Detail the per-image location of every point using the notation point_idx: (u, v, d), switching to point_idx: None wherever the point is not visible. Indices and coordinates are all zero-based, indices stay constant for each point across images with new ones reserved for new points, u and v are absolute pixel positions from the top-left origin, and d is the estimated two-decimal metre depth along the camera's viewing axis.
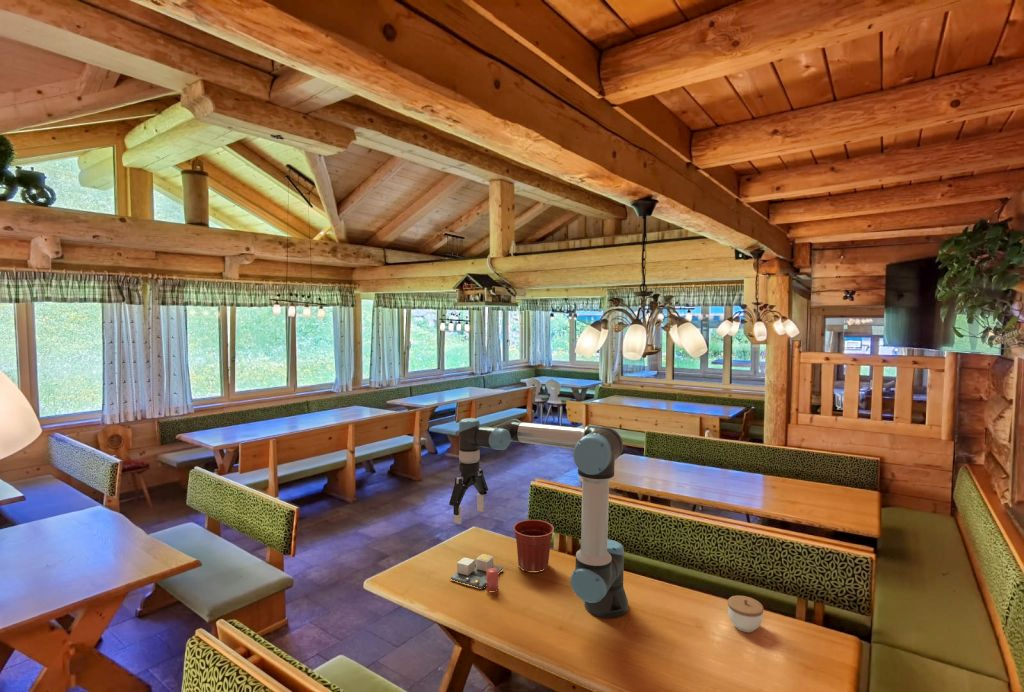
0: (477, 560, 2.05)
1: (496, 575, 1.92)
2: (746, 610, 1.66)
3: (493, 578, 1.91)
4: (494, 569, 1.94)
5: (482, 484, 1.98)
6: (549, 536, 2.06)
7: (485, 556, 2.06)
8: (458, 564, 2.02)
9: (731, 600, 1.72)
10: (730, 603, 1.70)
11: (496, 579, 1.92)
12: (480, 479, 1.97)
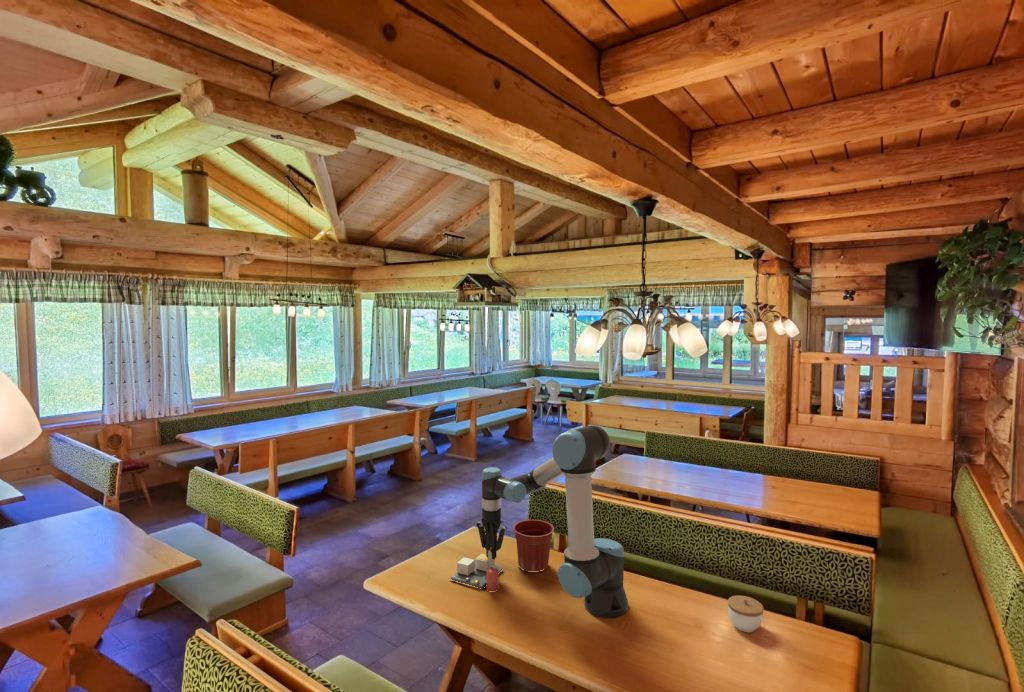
0: (476, 560, 2.05)
1: (496, 575, 1.92)
2: (746, 610, 1.66)
3: (493, 578, 1.91)
4: (494, 569, 1.94)
5: None
6: (549, 536, 2.06)
7: (484, 556, 2.07)
8: (458, 564, 2.02)
9: (731, 600, 1.72)
10: (730, 603, 1.70)
11: (496, 579, 1.92)
12: None
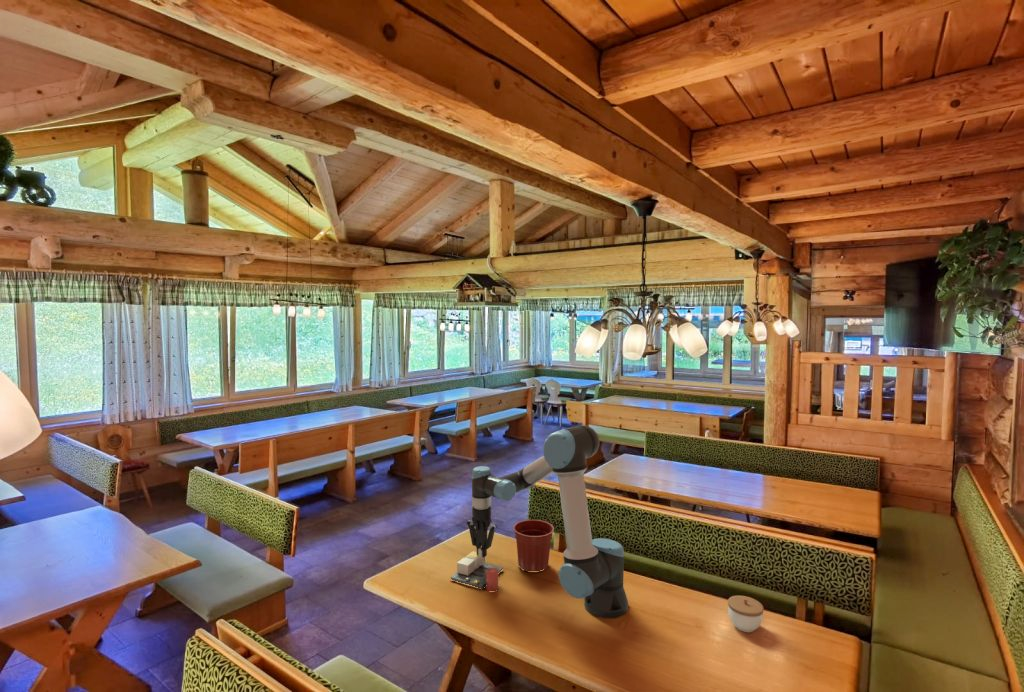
0: (467, 557, 2.07)
1: (496, 575, 1.92)
2: (746, 610, 1.66)
3: (493, 578, 1.91)
4: (494, 569, 1.94)
5: None
6: (549, 536, 2.06)
7: (475, 553, 2.09)
8: (458, 564, 2.02)
9: (731, 600, 1.72)
10: (730, 603, 1.70)
11: (496, 579, 1.92)
12: None
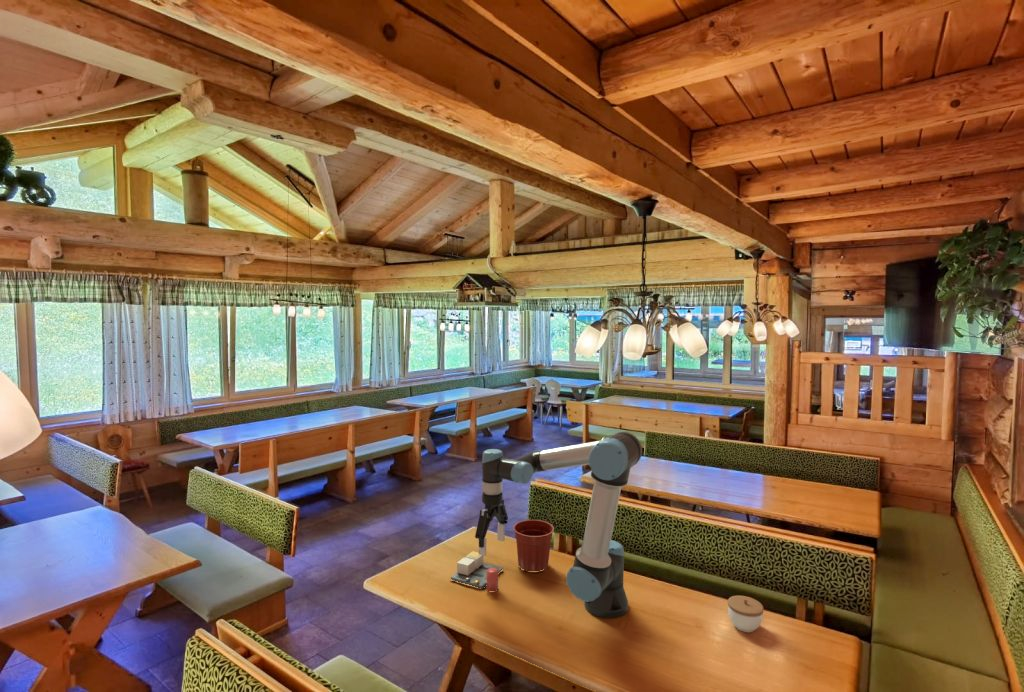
0: (467, 557, 2.07)
1: (496, 575, 1.92)
2: (746, 610, 1.66)
3: (493, 578, 1.91)
4: (494, 569, 1.94)
5: (502, 513, 1.98)
6: (549, 536, 2.06)
7: (475, 553, 2.09)
8: (458, 564, 2.02)
9: (731, 600, 1.72)
10: (730, 603, 1.70)
11: (496, 579, 1.92)
12: (501, 509, 1.98)
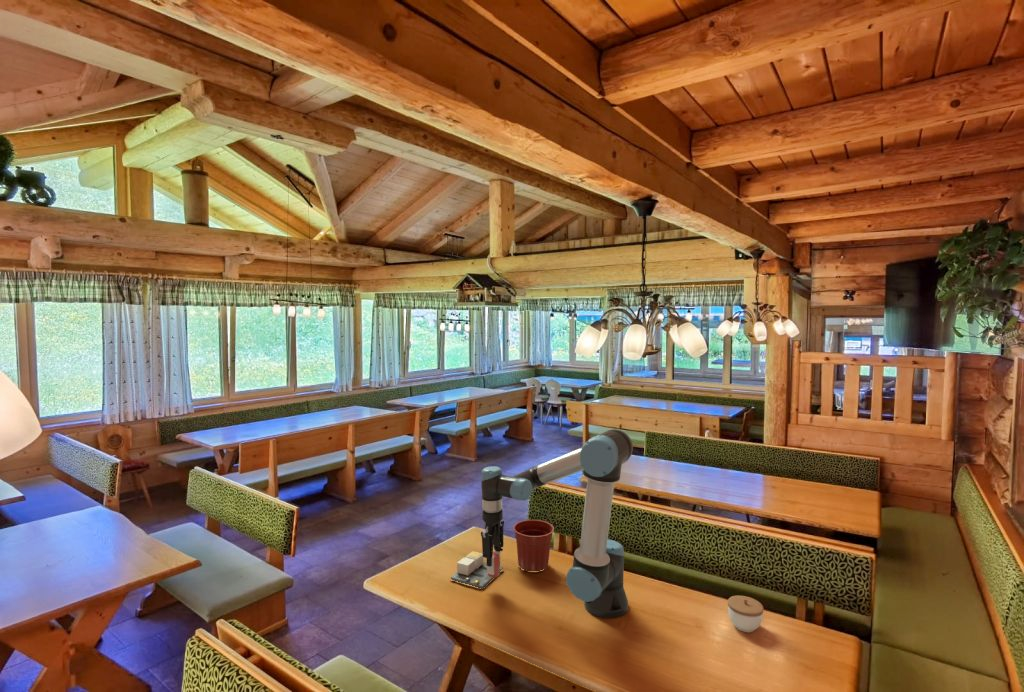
0: (467, 557, 2.07)
1: (497, 560, 1.91)
2: (746, 610, 1.66)
3: (494, 563, 1.90)
4: (495, 555, 1.93)
5: (499, 537, 1.96)
6: (549, 536, 2.06)
7: (475, 553, 2.09)
8: (458, 564, 2.02)
9: (731, 600, 1.72)
10: (730, 603, 1.70)
11: (497, 564, 1.91)
12: (499, 531, 1.96)
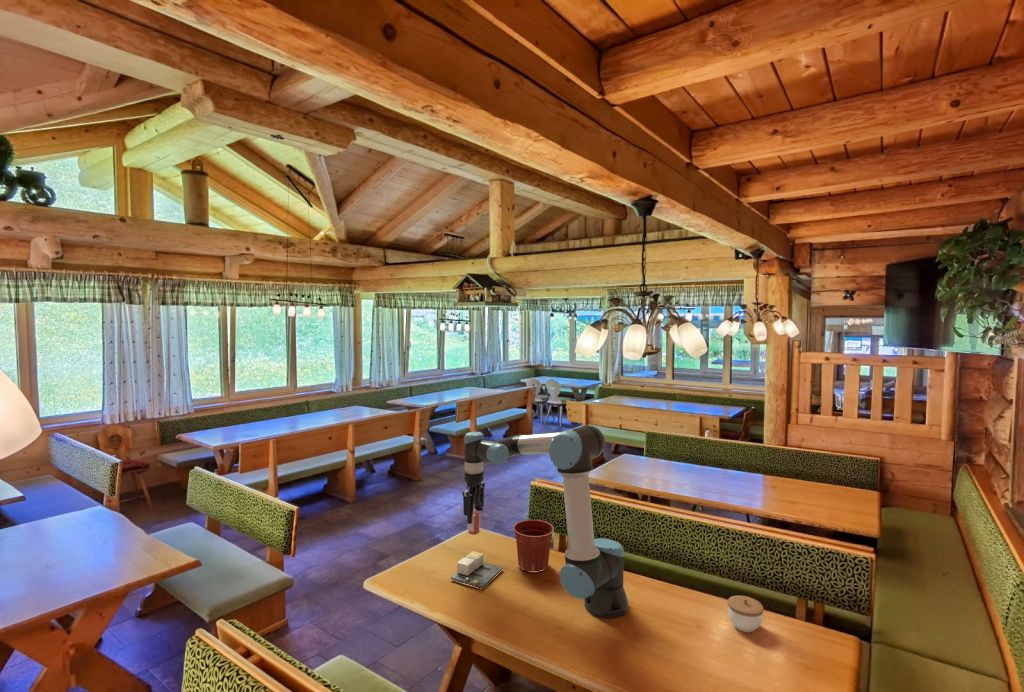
0: (467, 557, 2.07)
1: (477, 519, 2.06)
2: (746, 610, 1.66)
3: (474, 521, 2.05)
4: (475, 514, 2.08)
5: (480, 498, 2.10)
6: (549, 536, 2.06)
7: (475, 553, 2.09)
8: (458, 564, 2.02)
9: (731, 600, 1.72)
10: (730, 603, 1.70)
11: (477, 522, 2.06)
12: None
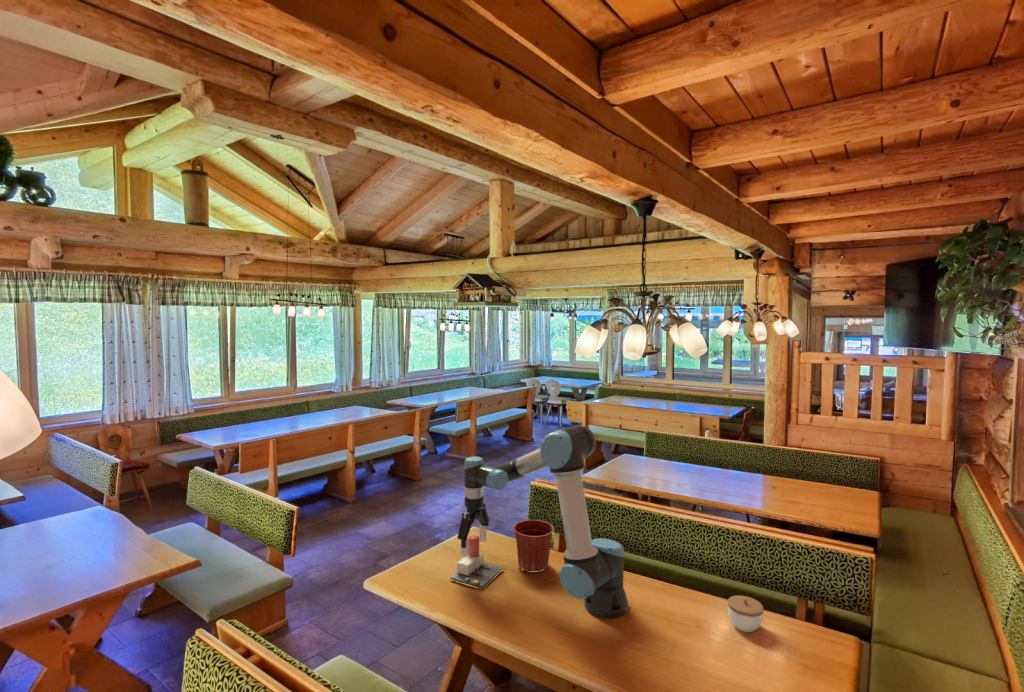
0: (467, 557, 2.07)
1: (477, 541, 2.06)
2: (746, 610, 1.66)
3: (474, 544, 2.06)
4: (475, 536, 2.09)
5: (484, 516, 2.14)
6: (549, 536, 2.06)
7: None
8: (458, 564, 2.02)
9: (731, 600, 1.72)
10: (730, 603, 1.70)
11: (477, 545, 2.06)
12: (482, 512, 2.13)
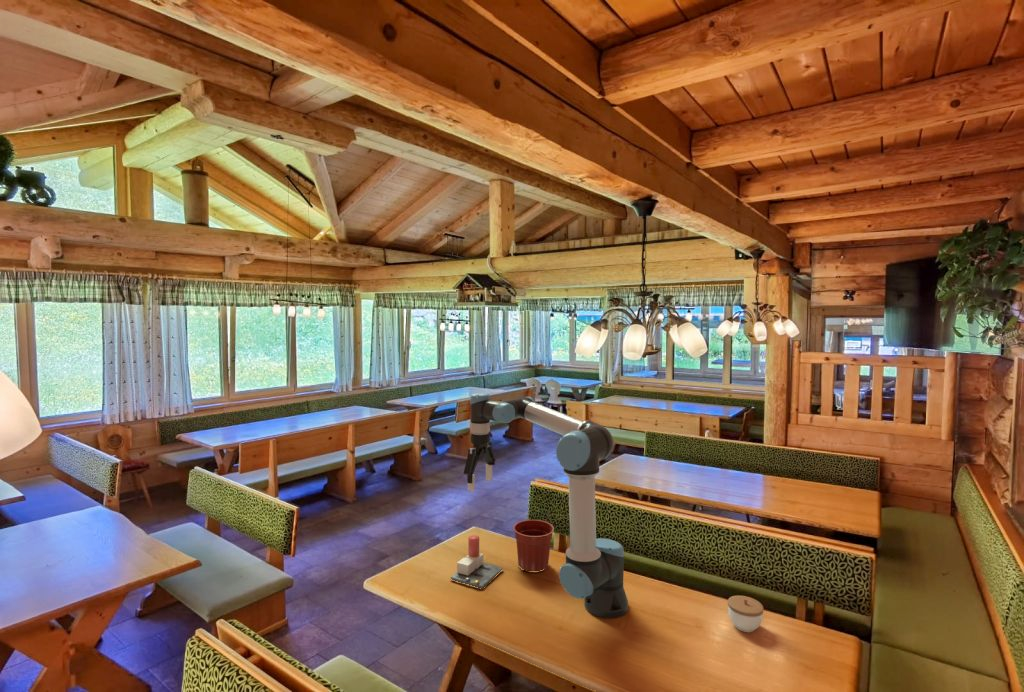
0: (467, 557, 2.07)
1: (477, 541, 2.06)
2: (746, 610, 1.66)
3: (474, 544, 2.06)
4: (475, 536, 2.09)
5: (490, 455, 2.11)
6: (549, 536, 2.06)
7: None
8: (458, 564, 2.02)
9: (731, 600, 1.72)
10: (730, 603, 1.70)
11: (477, 545, 2.06)
12: (489, 450, 2.10)
